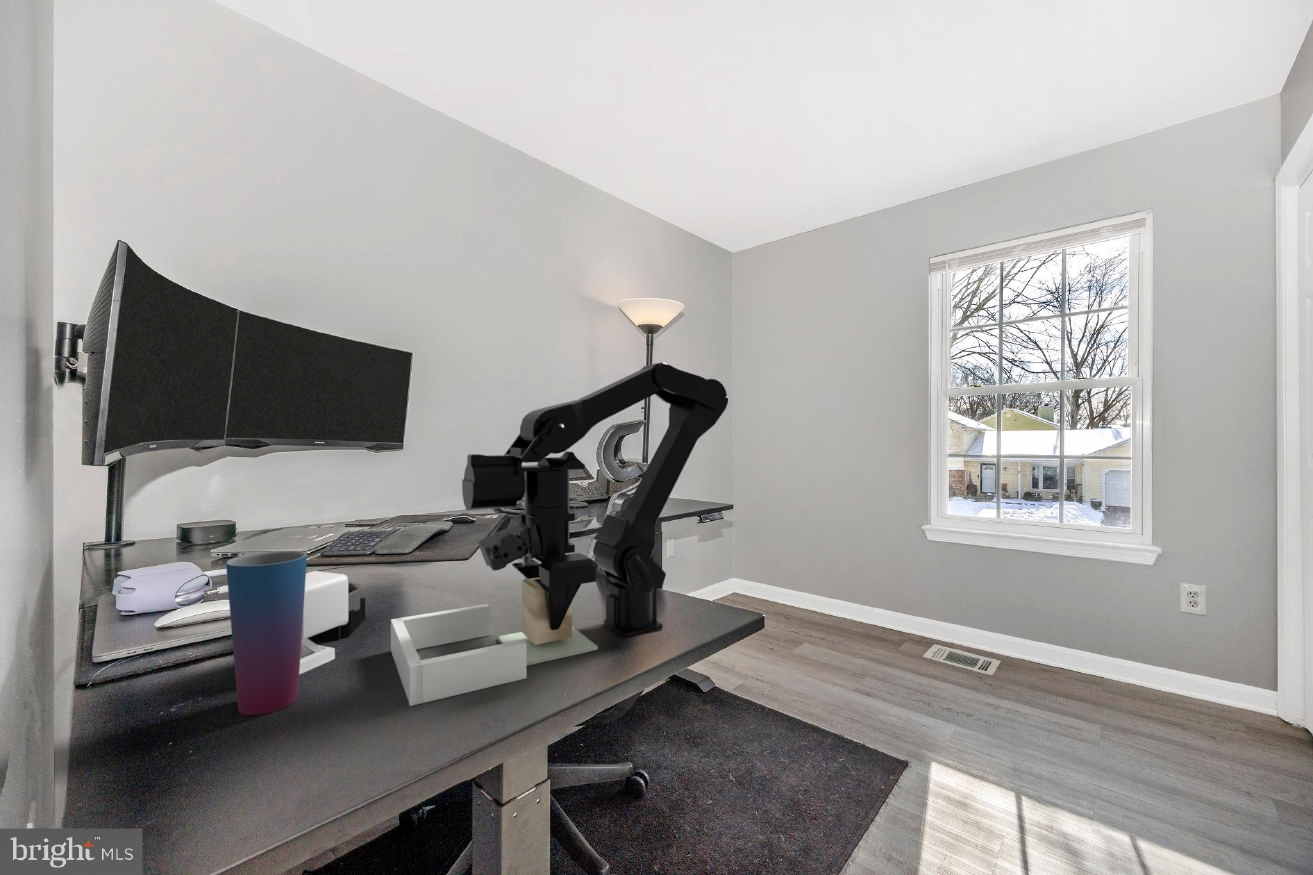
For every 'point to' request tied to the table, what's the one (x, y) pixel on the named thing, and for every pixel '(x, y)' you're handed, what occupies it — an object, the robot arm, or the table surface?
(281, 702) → the cup
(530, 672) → the table surface
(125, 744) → the table surface
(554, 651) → the sage mat
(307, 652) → the security camera
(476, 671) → the cubby
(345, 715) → the table surface
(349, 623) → the black and grey container
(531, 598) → the maple block
